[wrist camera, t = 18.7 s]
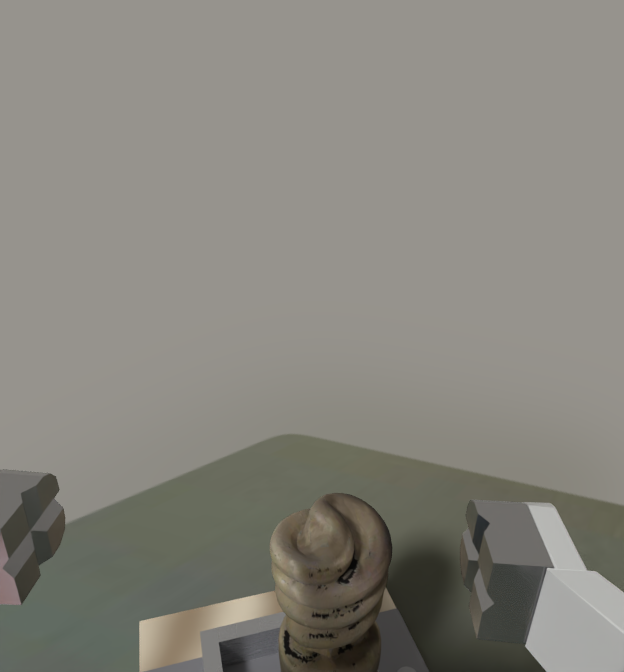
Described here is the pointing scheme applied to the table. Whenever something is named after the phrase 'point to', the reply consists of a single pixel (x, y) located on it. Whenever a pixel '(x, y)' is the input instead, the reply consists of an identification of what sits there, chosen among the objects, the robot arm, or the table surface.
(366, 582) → the light bulb
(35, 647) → the table surface
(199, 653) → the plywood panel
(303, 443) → the table surface
